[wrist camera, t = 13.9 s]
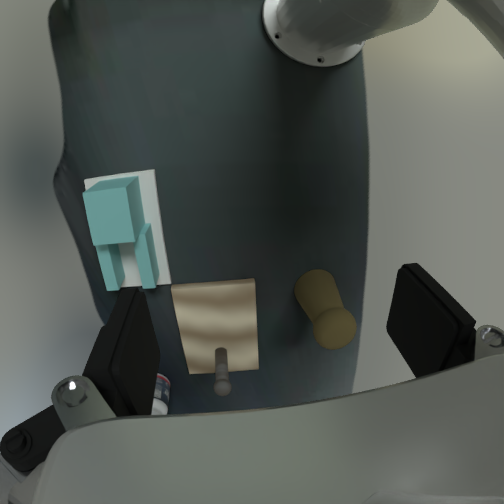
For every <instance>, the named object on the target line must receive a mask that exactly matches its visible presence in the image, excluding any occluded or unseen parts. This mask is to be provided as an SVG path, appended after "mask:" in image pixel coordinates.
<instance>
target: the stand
mask: <svg viewBox="0 0 504 504" xmlns="http://www.w3.org/2000/svg"><path fill="white" fill-rule="evenodd" d="M171 292H172V297H173V302H174V307H175V312H176V317H177V322H178V326H179V331H180V335H181V340H182V344H183V349H184V353H185V357H186V361H187V366H188V370H189V374H200V373H215V378H216V382H215V383H214V387H213V388H214V391H215V393H216V394H218V395H220V396H226V395H228V394H229V393H230V391H231V388H232V386H231V383H230V382H229V375H228V372H230V371H242V370H253V369H259V364H258V340H257V317H256V294H255V280H254V278H252V279H240V280H228V281H216V282H203V283H189V284H176V285H172V287H171Z"/></svg>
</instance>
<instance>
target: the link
mask: <svg viewBox="0 0 504 504" xmlns="http://www.w3.org/2000/svg"><path fill="white" fill-rule="evenodd" d="M83 198H84V203H85V208H86V213H87V218H88V223H89V227H90V232H91V236H92V241H93V245H95V246H96V250H97V254H98V258H99V262H100V266H101V270H102V273H103V277H104V281H105V284H106V288H107V291H112V290H119V289H120V287H121V284H122V282H123V280H124V278H125V273H124V268H123V264H122V260H121V255H120V251H119V246H118V243H126V242H133V245H134V250H135V255H136V259H137V264H138V269H139V274H140V278H141V282H142V287H143V289H146V288H156V284H157V281H158V278H159V274H160V273H159V268H158V262H157V257H156V251H155V245H154V239H153V233H152V227H151V223H147V224H145V218H144V212H143V205H142V198H141V191H140V184H139V176H131V177H124V178H116V179H109V180H103V181H99V182H97V183H96V184H95V185H93V186H92V187H90V188H89V189H88V190H86V191H85V192H83Z"/></svg>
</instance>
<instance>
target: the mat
mask: <svg viewBox="0 0 504 504" xmlns="http://www.w3.org/2000/svg"><path fill="white" fill-rule="evenodd" d="M131 176H139V184H140V191H141V198H142V205H143V212H144V218H145V224H147V223H151V227H152V233H153V239H154V245H155V251H156V257H157V262H158V268H159V273H160V274H159V278H158V281H157V284H156V285H161V284H171V276H170V271H169V265H168V259H167V253H166V247H165V241H164V235H163V228H162V221H161V215H160V207H159V200H158V193H157V185H156V177H155V169H154V170H145V171H138V172H130V173H123V174H116V175H109V176H103V177H96V178H90V179H86V180H84V182H85V188H86V190H88V189H89V188H90V187H92V186H93V185H95V184H96V183H97V182H99V181H103V180H109V179H116V178H124V177H131ZM118 246H119V251H120V255H121V260H122V264H123V268H124V273H125V278H124V280H123V282H122V284H121V287H131V286H142V282H141V278H140V274H139V269H138V264H137V259H136V255H135V250H134V245H133V242H126V243H118Z"/></svg>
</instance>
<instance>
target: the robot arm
mask: <svg viewBox="0 0 504 504" xmlns="http://www.w3.org/2000/svg"><path fill="white" fill-rule="evenodd" d="M447 1H449V2H450V3H451V4H452V5H453V6H454V7H455V8H456V9H457V10H458V11H459V12H460V13H461V14H462V15H464V16H465V17H467V18H468V19H469V20H470V21H471V22H472V23H473V24H474V25H475V27H476V28H477V29H478V30H479V31H480V32H481V33H482V34H483V35H484V36H485V37H486V38H487V40H488V41H489V42H490V43H491V44H492V45H493V46H494V48H495V49H496V50H497V51H498V52H499V54H500V55H501V56H502V57H503V58H504V0H447ZM437 3H438V0H265V1H264V3H263V8H262V21H263V24H264V28H265V31H266V33H267V35H268V37H269V39H270V40H271V41H272V42H273V44H274V45H275V46H276V47H277V48H278V49H279V50H280V51H281V52H282V53H283V54H285V55H286V56H288V57H289V58H291V59H293V60H295V61H297V62H299V63H302V64H306V65H309V66H316V67H329V66H334V65H338V64H341V63H344V62H346V61H348V60H350V59H351V58H353V57H354V56H355V55H356V54H357V53H358V52H359V51H360V50H361V49H362V47H363V46H364V43H365V41H366V40H368V39H371V38H374V37H376V36H379V35H382V34H385V33H388V32H391V31H394V30H397V29H400V28H403V27H406V26H409V25H412V24H414V23H417V22H419V21H421V20H423V19H424V18H425V17H427V16H428V15H429V14H430V13H431V12H432V11H433V9H434V7H435V6H436V5H437ZM276 35H277V36H279V39H276V38H275V36H276ZM317 59H320V62H318V61H317ZM475 323H476V321H475V320H474V318H473V317H472V316H471V315H470V314H469V313H468V312H467V311H466V310H465V309H464V308H463V307H462V306H461V305H460V304H459V303H458V302H457V301H456V300H455V299H454V298H453V297H452V296H451V295H450V294H449V293H448V292H447V291H446V290H445V289H444V288H443V287H442V286H441V285H440V284H439V283H438V282H437V281H436V280H435V279H434V278H433V277H432V276H431V275H430V274H428V273H427V272H426V271H425V270H424V269H423V268H422V267H421V266H420V265H419V264H417V263H411V264H404V265H402V267H401V268H400V269H399V270H398V273H397V278H396V284H395V288H394V293H393V298H392V303H391V307H390V312H389V316H388V321H387V326H386V327H387V332H388V334H389V336H390V337H391V339H392V340H393V342H394V344H395V345H396V346H397V348H398V350H399V351H400V353H401V355H402V356H403V358H404V359H405V361H406V362H407V364H408V365H409V367H410V369H411V370H412V372H413V374H414V375H415V377H416V378H415V379H412V380H408V381H404V382H400V383H397V384H393V385H389V386H385V387H380V388H376V389H372V390H367V391H363V392H358V393H353V394H348V395H343V396H338V397H333V398H328V399H322V400H316V401H310V402H304V403H297V404H290V405H283V406H275V407H267V408H258V409H249V410H238V411H226V412H211V413H193V414H168V415H151V414H152V407H153V400H154V393H155V387H156V380H157V374H158V368H159V362H160V350H159V346H158V343H157V339H156V335H155V332H154V328H153V324H152V321H151V317H150V313H149V309H148V305H147V301H146V297H145V294H144V292H140V291H139V289H138V288H131V289H122V290H121V292H120V295H119V297H118V299H117V301H116V304H115V306H114V308H113V311H112V313H111V315H110V318H109V320H108V322H107V325H106V326H103V327H102V328H101V330H100V332H99V335H98V337H97V339H96V342H95V344H94V347H93V349H92V352H91V354H90V356H89V359H88V361H87V364H86V366H85V369H84V372H83V374H82V376H79V375H77V376H70V377H67V378H65V379H63V380H62V381H60V382H59V383H58V384H57V385H56V386H55V387H54V389H53V391H52V395H51V399H52V403H53V405H51V406H50V407H48V408H46V409H45V410H43V411H41V412H40V413H38V414H36V415H35V416H33V417H31V418H29V419H27V420H26V421H24V422H22V423H21V424H19V425H17V426H15V427H14V428H12V429H11V430H9V431H8V432H7V433H6V434H5V435H4V436H3V437H2V440H1V442H0V452H1V453H0V504H504V331H503V330H501V329H500V328H498V327H495V326H491V325H483V326H481V327H479V328H478V329H477V331H476V330H475V328H474V326H475Z"/></svg>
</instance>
